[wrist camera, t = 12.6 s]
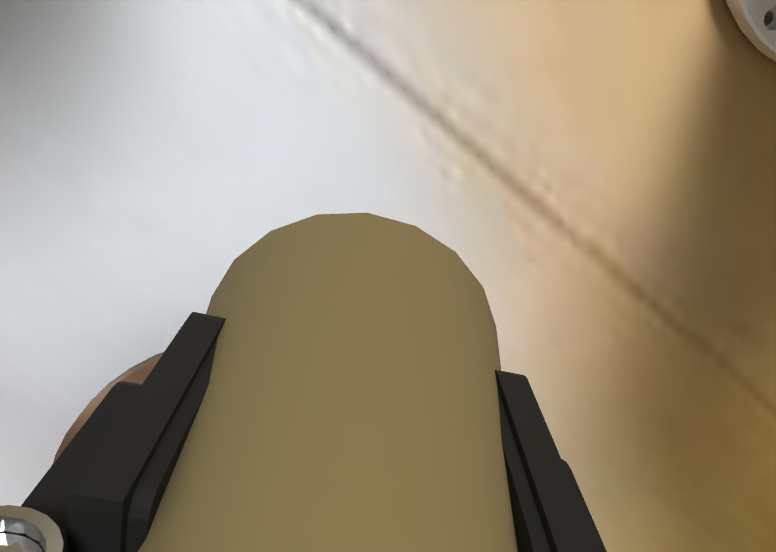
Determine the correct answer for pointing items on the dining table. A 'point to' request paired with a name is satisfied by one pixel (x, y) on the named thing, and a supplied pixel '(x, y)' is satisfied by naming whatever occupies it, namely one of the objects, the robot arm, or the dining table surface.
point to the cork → (345, 402)
